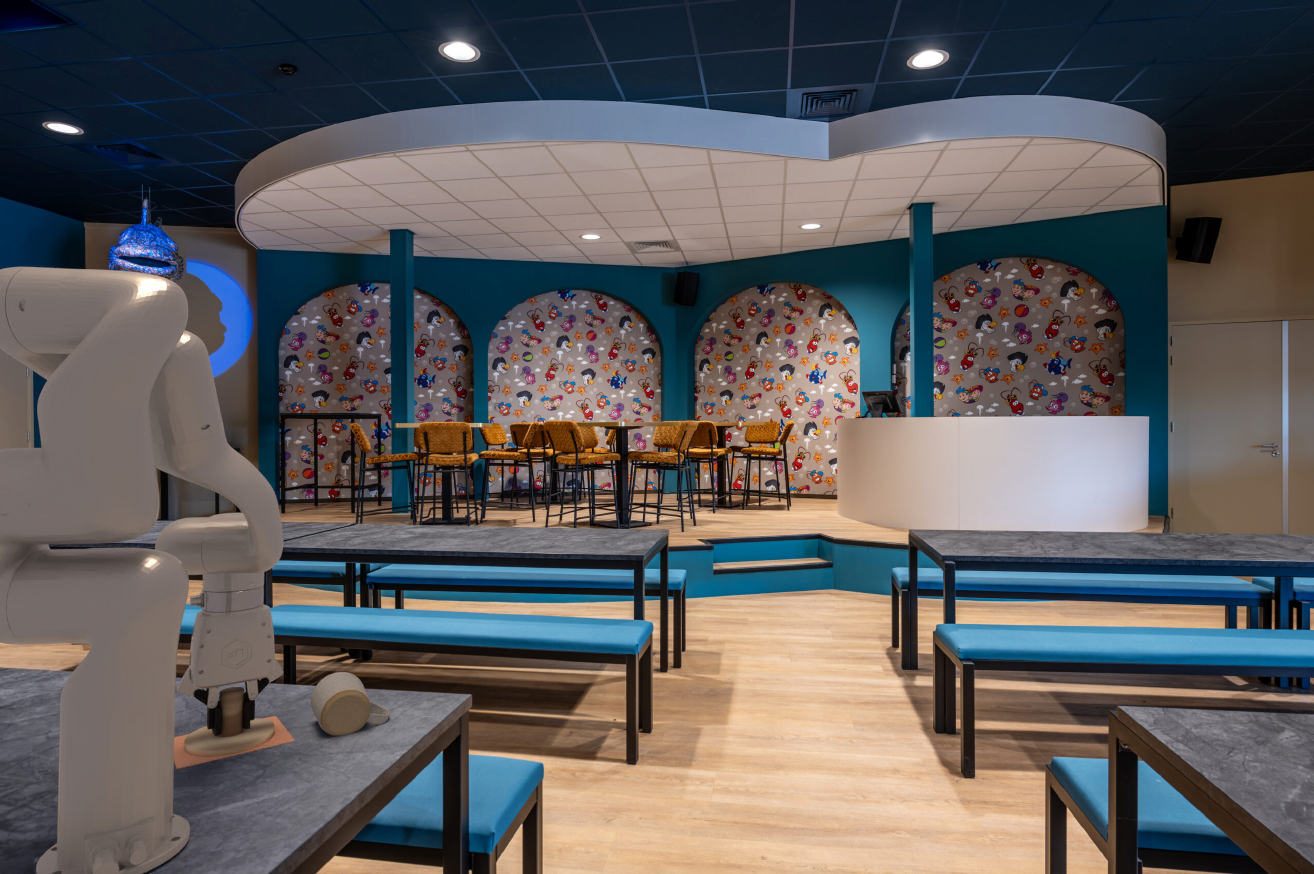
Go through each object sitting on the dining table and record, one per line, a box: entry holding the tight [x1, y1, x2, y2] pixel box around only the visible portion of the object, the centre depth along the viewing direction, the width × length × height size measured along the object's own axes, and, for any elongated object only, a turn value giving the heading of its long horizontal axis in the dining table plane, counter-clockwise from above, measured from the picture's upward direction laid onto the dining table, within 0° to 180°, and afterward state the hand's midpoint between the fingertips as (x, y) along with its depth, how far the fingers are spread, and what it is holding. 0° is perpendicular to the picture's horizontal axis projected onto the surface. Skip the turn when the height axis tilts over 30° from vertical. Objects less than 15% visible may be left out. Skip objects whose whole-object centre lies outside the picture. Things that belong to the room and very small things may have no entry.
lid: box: [184, 686, 275, 757], centre depth 100 cm, size 11×11×7 cm
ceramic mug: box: [310, 671, 391, 737], centre depth 107 cm, size 11×8×8 cm
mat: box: [174, 715, 296, 770], centre depth 100 cm, size 12×14×1 cm
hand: (230, 728), depth 100 cm, fingers closed on lid, 3 cm apart
